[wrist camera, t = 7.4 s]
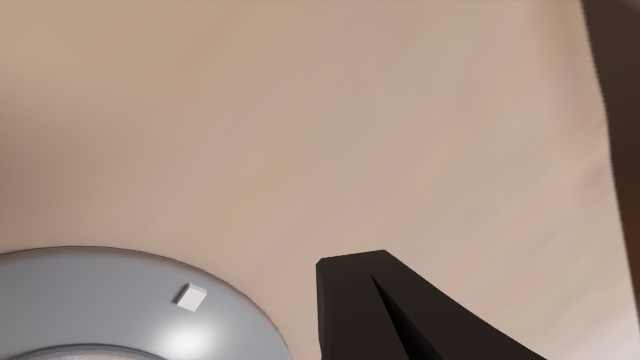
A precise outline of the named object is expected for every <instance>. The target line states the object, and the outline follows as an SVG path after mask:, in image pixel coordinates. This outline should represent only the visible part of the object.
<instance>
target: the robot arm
mask: <svg viewBox="0 0 640 360" xmlns="http://www.w3.org/2000/svg"><path fill="white" fill-rule="evenodd" d="M316 283H317V308H318V333H319V343H320V348H321V354H322V358H321V360H547V359H545V358H543V357H542V356H540V355H538V354H536V353H535V352H533V351H531V350H530V349H528V348H526V347H525V346H523V345H522V344H520V343H518V342H517V341H515V340H514V339H512V338H510V337H509V336H507V335H506V334H504V333H502V332H501V331H499V330H497V329H496V328H494V327H493V326H491V325H490V324H488V323H487V322H485V321H484V320H482V319H481V318H479V317H478V316H476V315H475V314H473V313H472V312H470V311H469V310H467V309H466V308H464V307H463V306H461V305H460V304H459V303H457V302H456V301H454V300H453V299H451V298H450V297H449V296H447V295H446V294H444V293H443V292H442V291H440V290H439V289H437V288H436V287H435V286H433V285H432V284H431V283H429V282H428V281H427V280H425V279H424V278H422V277H421V276H420V275H418V274H417V273H416V272H414V271H413V270H412V269H410V268H409V267H408V266H406V265H405V264H404V263H402V262H401V261H400V260H398V259H397V258H396V257H394V256H393V255H391V254H390V253H389V252H387V251H386V250H377V251H370V252H363V253H356V254H349V255H341V256H334V257H327V258H321V259H320V260H319V262H318V263H317V264H316Z"/></svg>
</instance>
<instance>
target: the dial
mask: <svg viewBox="0 0 640 360" xmlns="http://www.w3.org/2000/svg"><path fill="white" fill-rule="evenodd" d="M12 360H165V359H163V358H161V357H159V356H155V355H152V354H149V353H146V352H142V351H138V350H133V349H128V348H122V347H112V346H71V347H60V348H54V349H49V350H43V351H38V352H35V353H31V354H27V355H24V356H20V357H17V358H15V359H12Z"/></svg>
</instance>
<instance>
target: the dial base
mask: <svg viewBox="0 0 640 360" xmlns="http://www.w3.org/2000/svg"><path fill="white" fill-rule="evenodd" d="M71 346H112V347H122V348H128V349H133V350H138V351H142V352H146V353H149V354H152V355H155V356H159V357H161V358H163V359H165V360H292V359H291V356H290V353H289V350H288V347H287V345H286V343H285V341H284V339H283V337H282V336H281V334H280V332H279V330H278V328H277V327H276V326H275V325H274V323H273V322H272V321H271V320H270V318H269V317H268V316H267V315H266V313H265V312H264V311H263V310H262V309H261V308H260V307H259V306H257V305H256V304H255V303H254V302H253V301H252V300H251V299H250V298H249V297H248V296H246V295H245V294H243V293H242V292H240V291H239V290H238V289H236V288H235V287H233V286H232V285H230V284H229V283H227V282H226V281H224V280H222V279H220V278H218V277H216V276H214V275H212V274H210V273H208V272H206V271H204V270H202V269H199V268H197V267H194V266H191V265H188V264H185V263H183V262H180V261H177V260H174V259H171V258H167V257H163V256H158V255H154V254H150V253H146V252H141V251H134V250H126V249H118V248H110V247H84V246H66V247H53V248H41V249H31V250H26V251H20V252H15V253H9V254H4V255H0V360H12V359H15V358H17V357H20V356H24V355H27V354H31V353H35V352H38V351H43V350H49V349H54V348H60V347H71Z"/></svg>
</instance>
